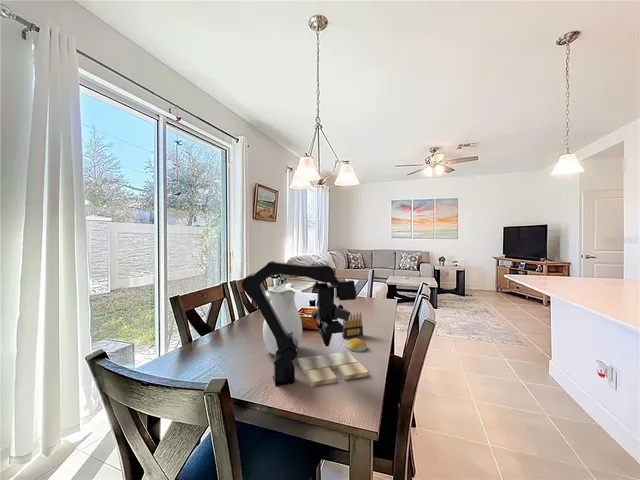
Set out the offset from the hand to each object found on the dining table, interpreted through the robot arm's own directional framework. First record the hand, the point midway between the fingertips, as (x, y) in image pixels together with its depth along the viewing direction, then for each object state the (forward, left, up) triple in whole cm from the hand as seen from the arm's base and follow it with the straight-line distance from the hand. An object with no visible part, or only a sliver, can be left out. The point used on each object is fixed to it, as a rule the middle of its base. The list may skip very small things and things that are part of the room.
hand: (326, 345), depth 99 cm
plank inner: (-2, 0, -11) cm, 12 cm away
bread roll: (+21, +21, -12) cm, 32 cm away
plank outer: (+10, 0, -11) cm, 15 cm away
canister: (-7, +69, -12) cm, 71 cm away
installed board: (+4, +10, -12) cm, 16 cm away
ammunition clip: (+25, +34, -12) cm, 44 cm away
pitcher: (-9, +31, -12) cm, 35 cm away
